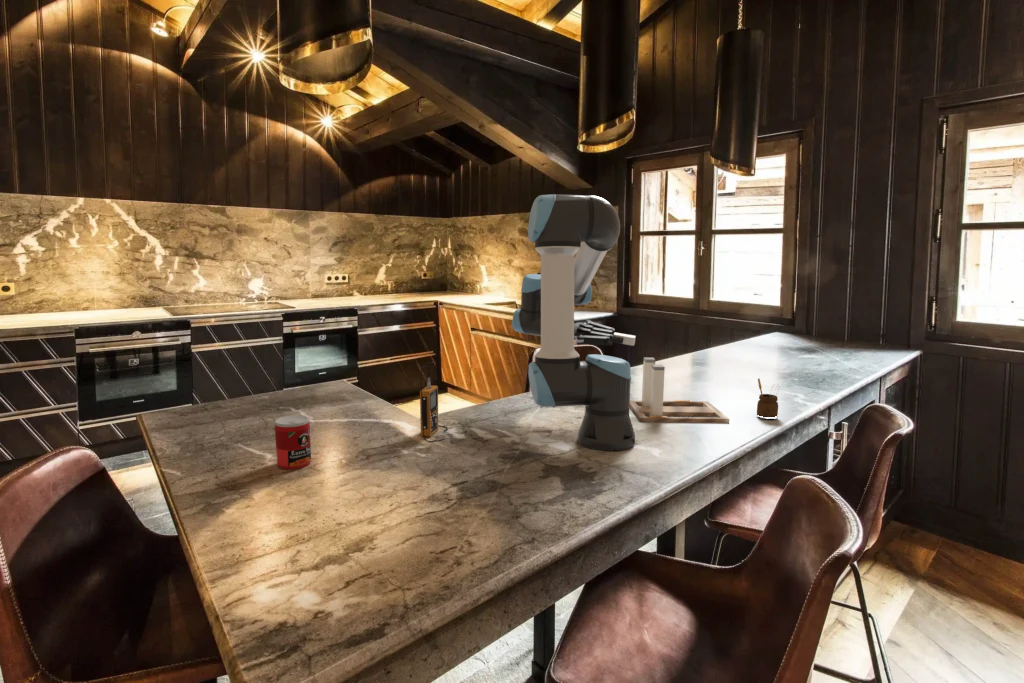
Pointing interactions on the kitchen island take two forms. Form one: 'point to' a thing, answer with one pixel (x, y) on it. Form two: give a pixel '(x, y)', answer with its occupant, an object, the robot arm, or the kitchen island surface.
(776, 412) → the utensil holder
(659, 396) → the white rectangular block
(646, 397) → the tall white block
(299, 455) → the canned food
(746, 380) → the kitchen island surface
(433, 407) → the multimeter
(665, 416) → the wooden compartment tray
